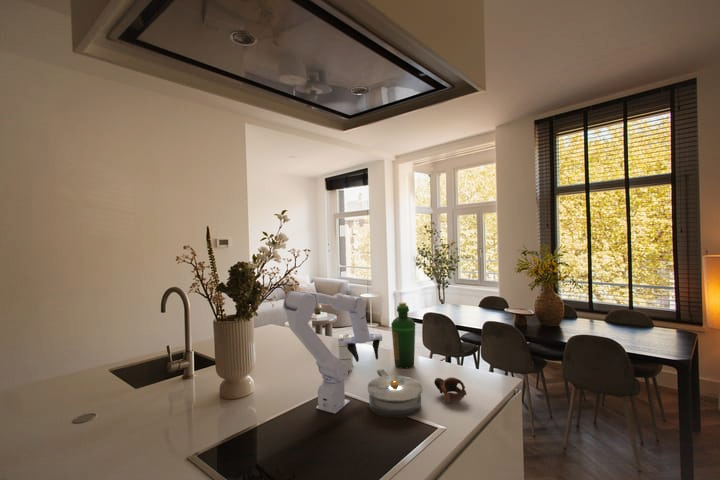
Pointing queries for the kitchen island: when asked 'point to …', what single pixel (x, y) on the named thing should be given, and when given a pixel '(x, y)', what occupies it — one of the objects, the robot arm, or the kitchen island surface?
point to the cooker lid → (394, 388)
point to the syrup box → (345, 351)
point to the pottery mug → (450, 389)
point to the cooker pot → (395, 407)
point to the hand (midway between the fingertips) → (367, 359)
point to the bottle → (403, 338)
